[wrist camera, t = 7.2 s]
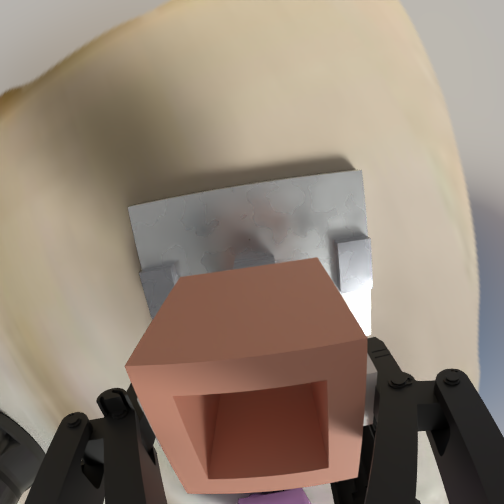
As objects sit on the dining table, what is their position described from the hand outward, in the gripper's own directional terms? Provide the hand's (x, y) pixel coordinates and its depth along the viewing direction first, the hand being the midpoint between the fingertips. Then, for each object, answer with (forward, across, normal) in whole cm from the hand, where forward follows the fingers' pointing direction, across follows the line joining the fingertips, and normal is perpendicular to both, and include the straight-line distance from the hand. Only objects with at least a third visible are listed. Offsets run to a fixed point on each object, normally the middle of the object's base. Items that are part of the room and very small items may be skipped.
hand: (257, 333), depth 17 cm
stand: (+10, 0, 0) cm, 10 cm away
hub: (0, 0, 0) cm, 0 cm away
